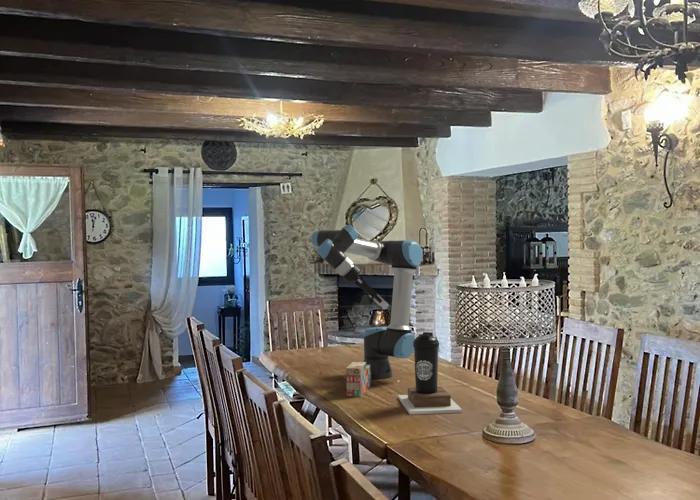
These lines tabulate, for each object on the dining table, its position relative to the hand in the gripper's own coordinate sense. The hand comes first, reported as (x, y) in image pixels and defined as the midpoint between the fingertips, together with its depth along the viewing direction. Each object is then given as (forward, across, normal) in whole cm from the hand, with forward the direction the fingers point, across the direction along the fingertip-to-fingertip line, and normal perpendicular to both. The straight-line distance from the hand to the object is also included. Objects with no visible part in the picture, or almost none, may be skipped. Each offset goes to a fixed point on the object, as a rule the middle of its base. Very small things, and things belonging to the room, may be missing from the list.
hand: (384, 305), depth 266 cm
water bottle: (+33, +17, -13) cm, 39 cm away
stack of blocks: (+20, -9, -34) cm, 40 cm away
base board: (+37, +18, -16) cm, 44 cm away
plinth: (+36, +18, -15) cm, 43 cm away
